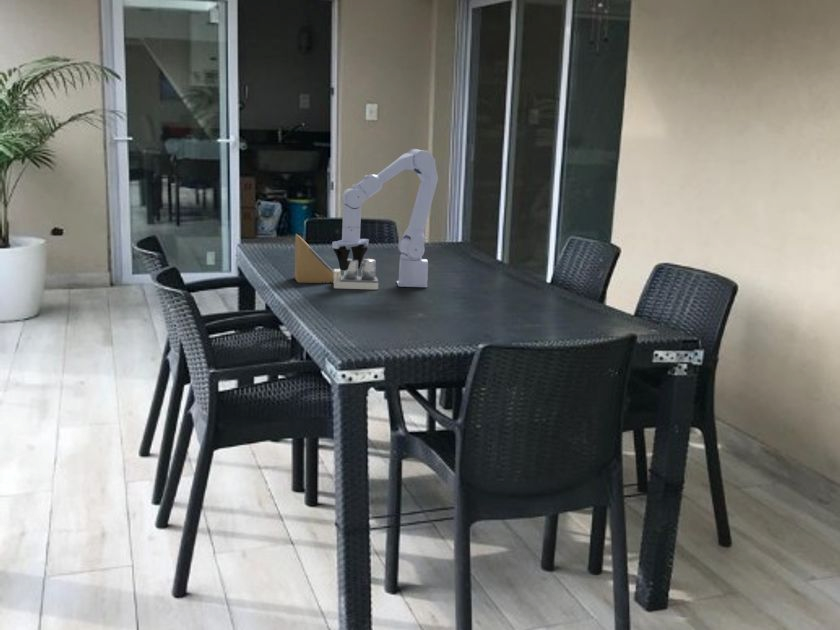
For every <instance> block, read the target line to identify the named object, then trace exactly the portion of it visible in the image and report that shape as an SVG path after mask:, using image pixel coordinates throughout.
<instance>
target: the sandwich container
mask: <svg viewBox="0 0 840 630" xmlns="http://www.w3.org/2000/svg"><path fill="white" fill-rule="evenodd" d="M294 238H295V240H294V241H295V243H294V245H295V246H294V255H295V256H294V279H295V280H296V282H297V283H307V284H308V283H311V284H312V283H314V284H315V283H317V284H319V283H321V284H322V282H323V284H325V282H326V283H328V284H329V283H330V282H331V283H333V280H334V278H333V275H334V268H331V267H330V266H329V265H328V263H327V262H326V261H324V260H323V258H322V257H321V256H320V255H319V254H318V253H317V252H316V251H315V250H314V249H313V248H312V247H311V246H310V245H309V244H308V243H307V242H306V241H305V239H303V238H302V237H301V235H299V234H297V233H295V237H294Z"/></svg>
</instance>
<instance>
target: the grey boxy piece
mask: <svg viewBox="0 0 840 630" xmlns="http://www.w3.org/2000/svg"><path fill="white" fill-rule="evenodd" d="M333 270H334V275H333V278H334V280H333V289H347V290H348V289H349V290H352V289H353V290H379V279H378V277H377V276H375V279H374V280H363V279H361V275H358V279H354V280H350V279H344V275H342V270H340V268H333Z"/></svg>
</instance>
